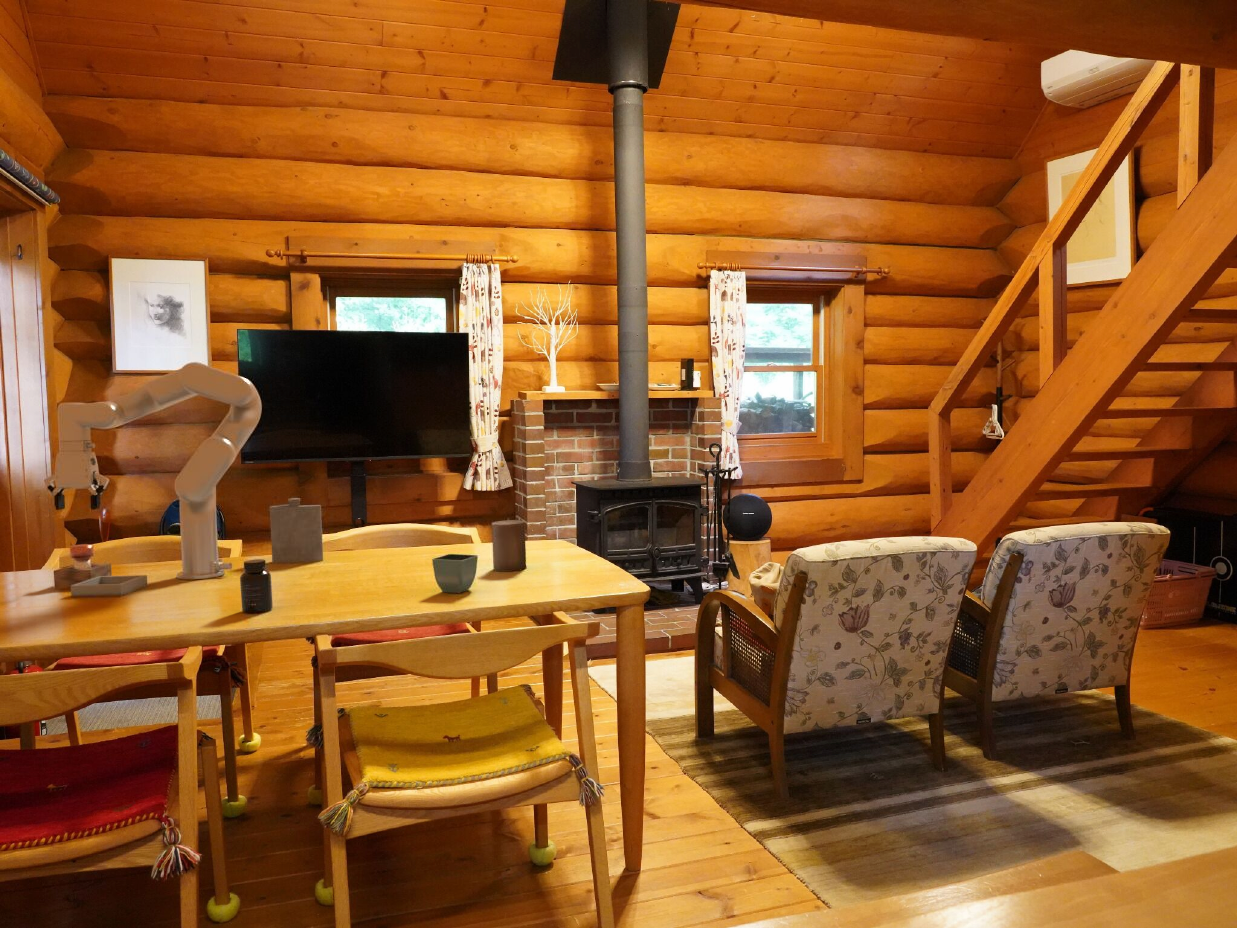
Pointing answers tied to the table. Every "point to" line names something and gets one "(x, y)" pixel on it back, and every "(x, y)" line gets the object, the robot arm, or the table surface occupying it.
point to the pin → (82, 555)
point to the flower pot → (455, 572)
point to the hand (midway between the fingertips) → (77, 509)
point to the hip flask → (296, 533)
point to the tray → (108, 586)
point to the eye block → (79, 575)
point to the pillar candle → (509, 545)
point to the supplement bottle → (256, 587)
